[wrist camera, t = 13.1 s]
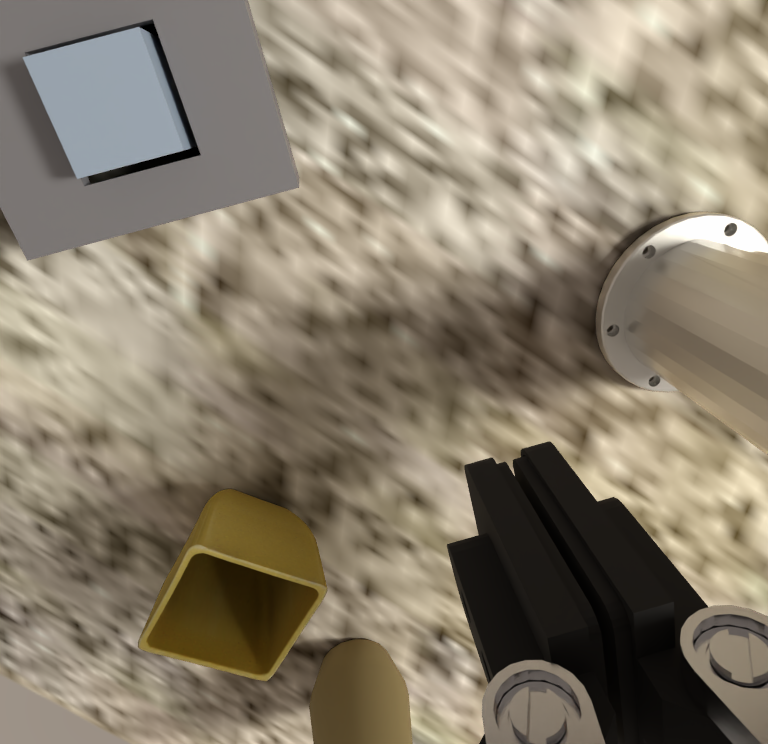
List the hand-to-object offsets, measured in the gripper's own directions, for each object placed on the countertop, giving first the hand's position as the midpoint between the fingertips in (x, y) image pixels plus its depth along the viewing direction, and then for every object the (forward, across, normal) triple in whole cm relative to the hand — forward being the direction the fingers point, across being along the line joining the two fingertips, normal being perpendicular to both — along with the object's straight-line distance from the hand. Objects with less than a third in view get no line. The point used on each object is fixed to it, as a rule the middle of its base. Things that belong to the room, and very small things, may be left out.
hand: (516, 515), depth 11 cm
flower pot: (+27, +14, +18) cm, 36 cm away
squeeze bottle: (+27, +10, +35) cm, 46 cm away
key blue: (+26, +10, -10) cm, 29 cm away
